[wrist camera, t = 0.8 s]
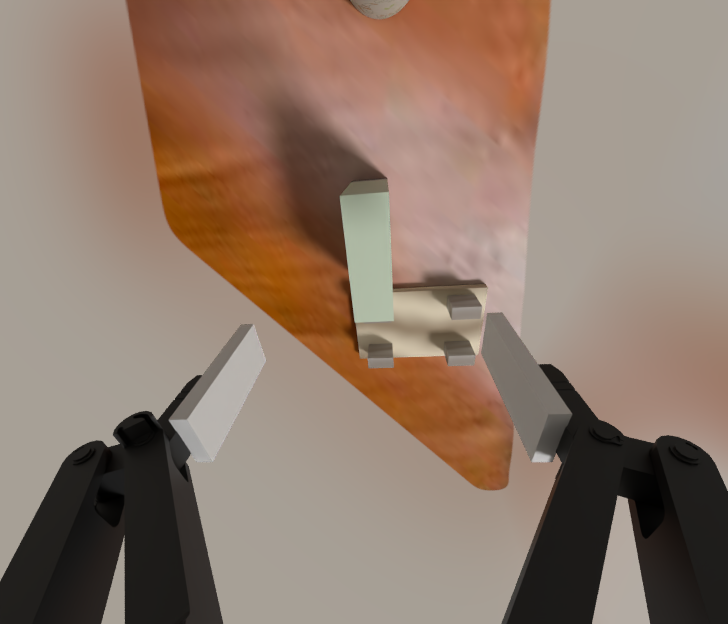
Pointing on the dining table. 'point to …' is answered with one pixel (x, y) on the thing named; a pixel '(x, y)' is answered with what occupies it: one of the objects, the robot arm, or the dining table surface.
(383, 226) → the door panel
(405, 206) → the dining table surface
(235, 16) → the dining table surface
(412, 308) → the hinge bracket
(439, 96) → the dining table surface
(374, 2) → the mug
